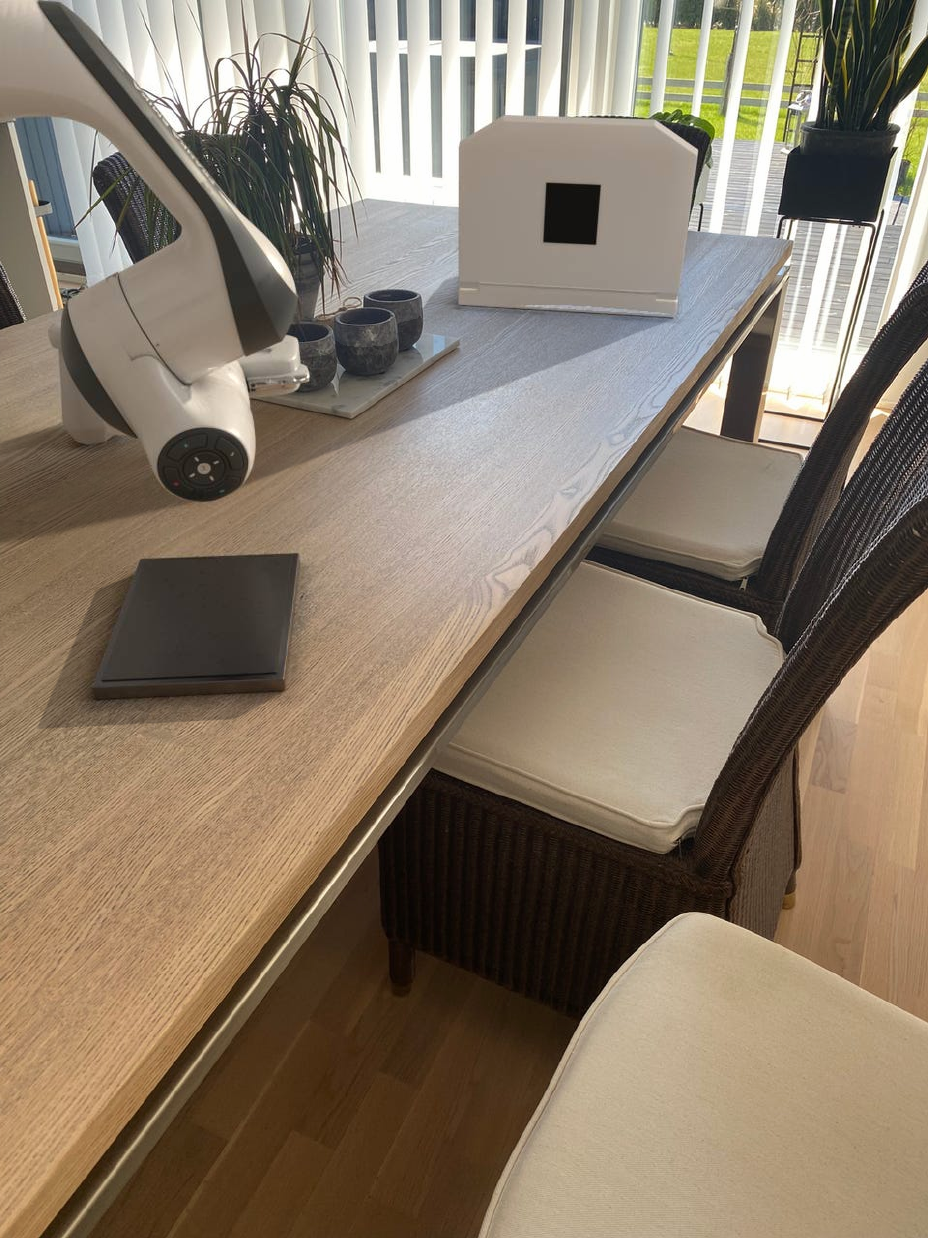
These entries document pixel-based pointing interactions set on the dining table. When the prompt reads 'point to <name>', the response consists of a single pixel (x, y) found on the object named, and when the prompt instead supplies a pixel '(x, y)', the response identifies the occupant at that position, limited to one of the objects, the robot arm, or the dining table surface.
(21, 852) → the dining table surface
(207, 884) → the dining table surface
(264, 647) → the tablet
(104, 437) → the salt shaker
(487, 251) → the white chamfered box
